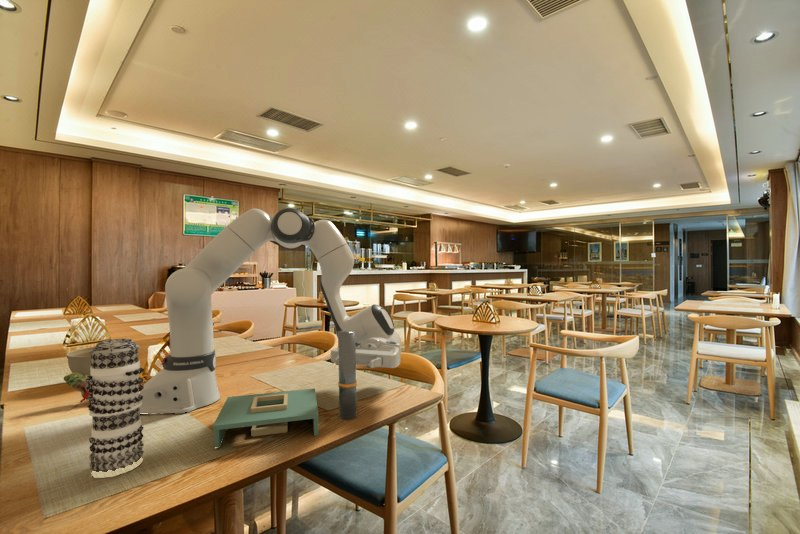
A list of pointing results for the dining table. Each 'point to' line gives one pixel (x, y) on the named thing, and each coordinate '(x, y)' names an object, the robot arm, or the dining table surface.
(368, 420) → the dining table surface
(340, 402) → the air tube
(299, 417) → the green slotted stand
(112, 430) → the decorative candle
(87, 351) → the planter bowl
